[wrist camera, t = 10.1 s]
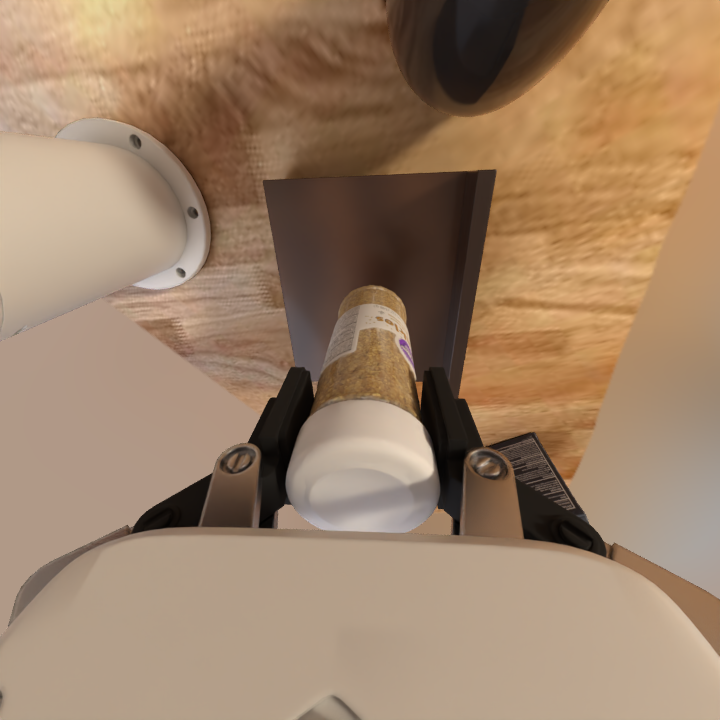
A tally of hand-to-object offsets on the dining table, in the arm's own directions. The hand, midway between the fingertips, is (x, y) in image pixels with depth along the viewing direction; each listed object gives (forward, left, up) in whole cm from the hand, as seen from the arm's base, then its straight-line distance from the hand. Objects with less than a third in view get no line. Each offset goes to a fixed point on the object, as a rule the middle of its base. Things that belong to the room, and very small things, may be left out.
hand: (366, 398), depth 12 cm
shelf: (0, 0, -17) cm, 17 cm away
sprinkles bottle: (0, 0, -9) cm, 9 cm away
